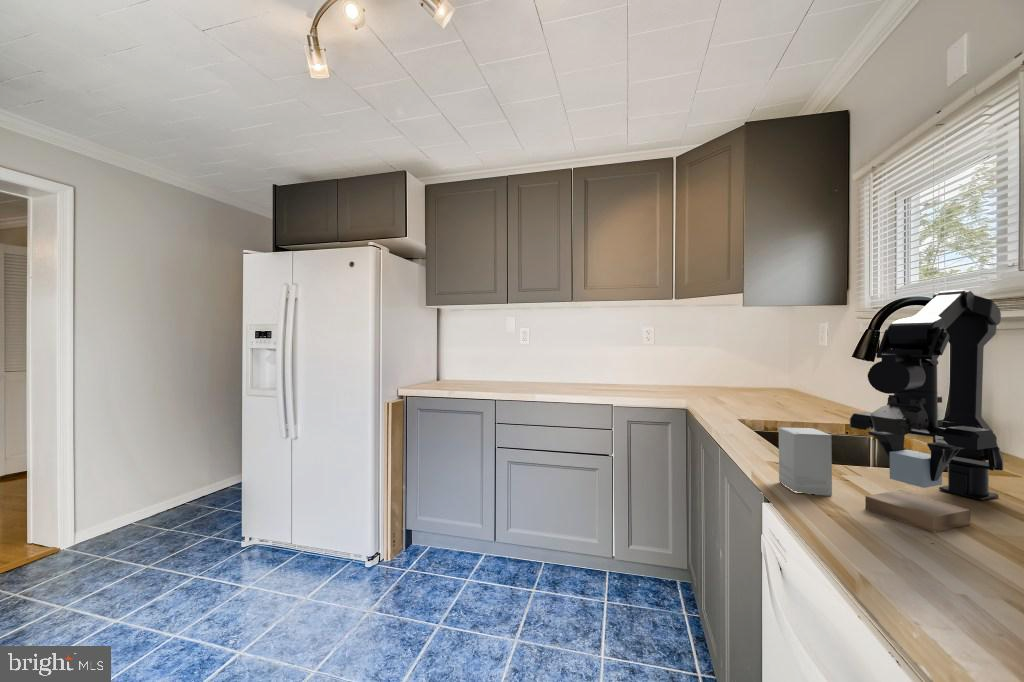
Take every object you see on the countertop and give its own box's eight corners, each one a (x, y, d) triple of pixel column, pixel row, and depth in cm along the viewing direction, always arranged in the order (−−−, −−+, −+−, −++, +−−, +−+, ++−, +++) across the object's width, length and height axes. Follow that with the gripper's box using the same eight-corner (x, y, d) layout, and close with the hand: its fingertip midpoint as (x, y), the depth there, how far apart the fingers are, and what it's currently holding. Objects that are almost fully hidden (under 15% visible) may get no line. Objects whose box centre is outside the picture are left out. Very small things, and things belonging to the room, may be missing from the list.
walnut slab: (900, 502, 81) (900, 490, 81) (970, 524, 71) (970, 509, 71) (865, 509, 78) (865, 495, 78) (932, 532, 68) (932, 517, 68)
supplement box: (833, 496, 84) (833, 435, 84) (793, 494, 86) (792, 433, 86) (814, 484, 92) (814, 427, 92) (777, 482, 93) (777, 426, 93)
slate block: (907, 475, 78) (907, 449, 78) (941, 484, 73) (941, 456, 73) (889, 478, 76) (889, 451, 76) (923, 487, 72) (923, 459, 72)
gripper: (829, 386, 81) (830, 465, 81) (954, 399, 63) (955, 500, 63) (868, 384, 84) (869, 460, 84) (998, 396, 67) (999, 492, 67)
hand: (915, 476), depth 75 cm, fingers closed on slate block, 5 cm apart
